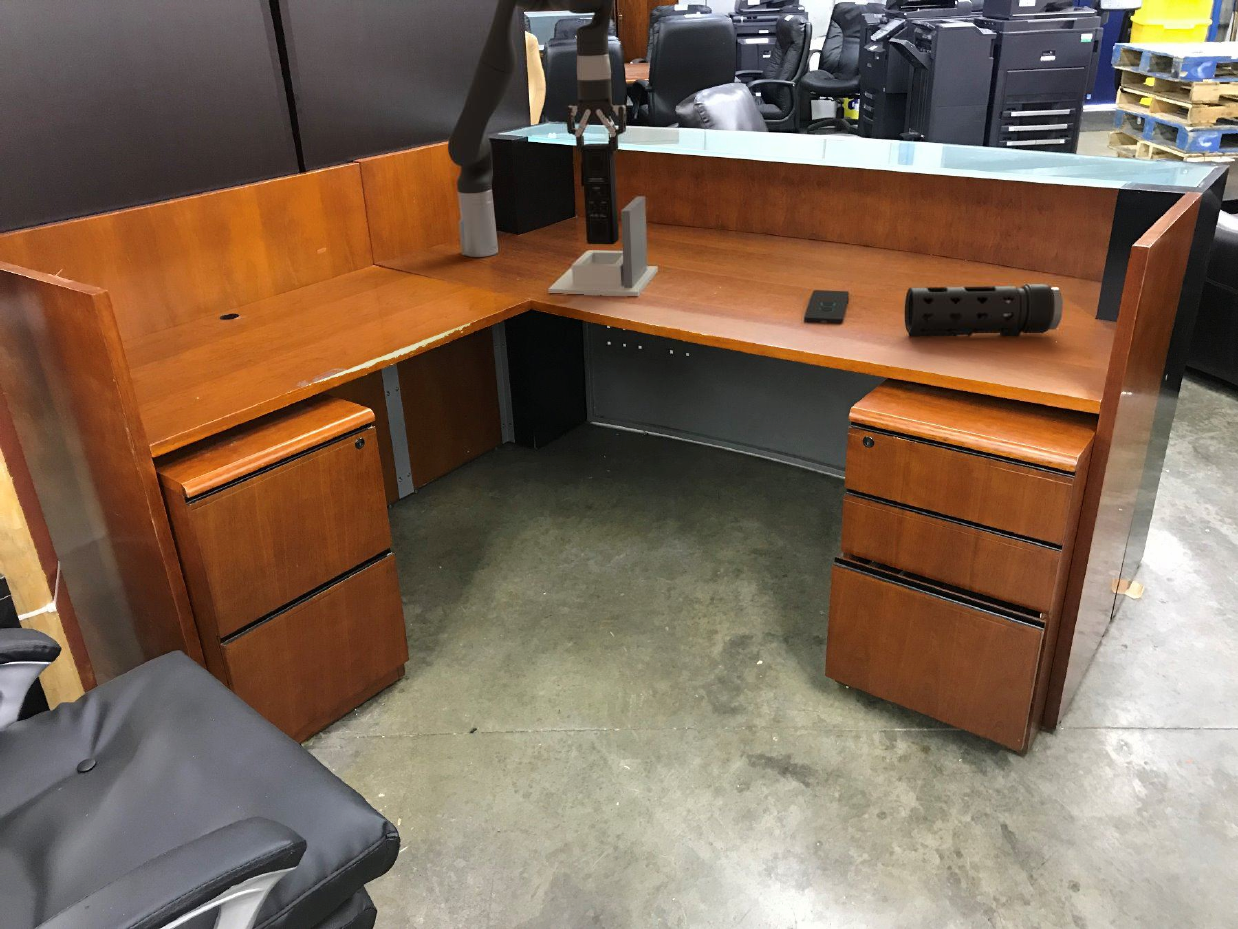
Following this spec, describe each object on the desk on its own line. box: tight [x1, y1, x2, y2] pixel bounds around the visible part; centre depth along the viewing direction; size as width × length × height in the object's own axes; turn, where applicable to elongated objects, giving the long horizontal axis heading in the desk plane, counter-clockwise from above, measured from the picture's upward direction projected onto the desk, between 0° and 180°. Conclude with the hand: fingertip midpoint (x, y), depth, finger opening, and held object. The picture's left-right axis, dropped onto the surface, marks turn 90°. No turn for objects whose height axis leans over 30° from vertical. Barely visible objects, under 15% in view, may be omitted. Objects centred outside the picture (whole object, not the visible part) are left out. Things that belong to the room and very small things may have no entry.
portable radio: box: [580, 132, 620, 246], centre depth 226 cm, size 8×6×25 cm
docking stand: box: [547, 196, 659, 297], centre depth 232 cm, size 22×22×19 cm
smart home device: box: [803, 289, 850, 325], centre depth 210 cm, size 8×2×20 cm
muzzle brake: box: [904, 283, 1064, 338], centre depth 189 cm, size 10×28×10 cm, turn 85°
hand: (597, 152), depth 222 cm, fingers closed on portable radio, 7 cm apart
